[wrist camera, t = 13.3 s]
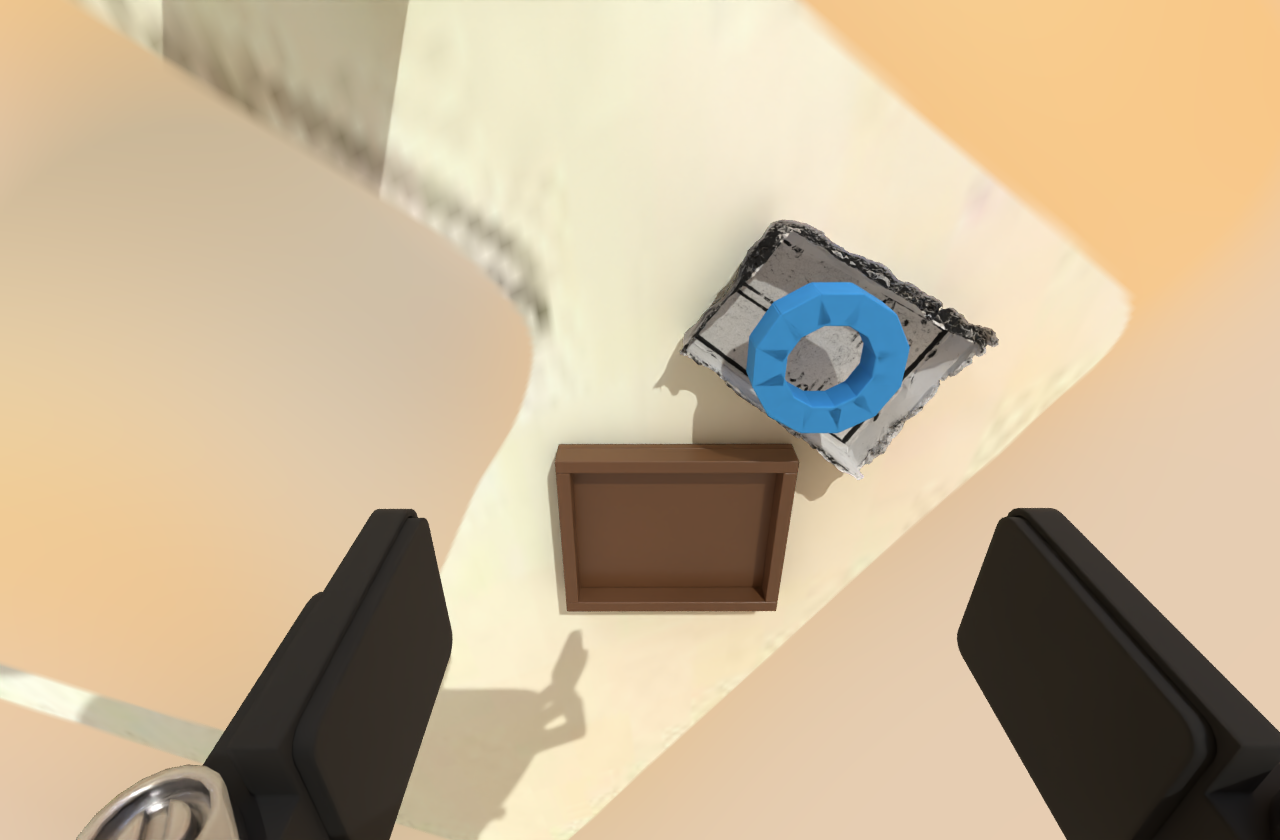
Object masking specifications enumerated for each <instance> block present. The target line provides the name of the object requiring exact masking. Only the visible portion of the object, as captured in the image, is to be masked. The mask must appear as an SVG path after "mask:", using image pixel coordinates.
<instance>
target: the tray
mask: <svg viewBox="0 0 1280 840" xmlns="http://www.w3.org/2000/svg"><path fill="white" fill-rule="evenodd" d="M798 466H799V460H798V458H797V456H796V453H795V451H794V449H793V446H792V444H559V446H558V451H557V455H556V460H555V469H556V481H557V493H558V505H559V518H560V530H561V542H562V555H563V567H564V579H565V591H566V604H567V611H776V608H777V601H778V594H779V588H780V582H781V575H782V569H783V562H784V556H785V549H786V543H787V536H788V530H789V523H790V517H791V511H792V504H793V498H794V491H795V485H796V478H797V472H798Z"/></svg>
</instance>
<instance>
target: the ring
mask: <svg viewBox="0 0 1280 840" xmlns="http://www.w3.org/2000/svg"><path fill="white" fill-rule="evenodd" d="M824 326H849V327H851V328H853V329H854V330H856V331H858V332H859V334H860V336H861V339H862V341H863V349H862V354H861V359H860V363H859V364H858V366H857V367H856V368H855V369H854V371H853V372H852V373H851V374H850V375H849V377H848V378H847V379H846V380H845V381H844V382H842V383H840V384H838V385H835V386H833V387H831V388H829V389H827V390H825V391H803V390H801V389H799V388H798V387H796V386H794V385H792V384H790V383H789V382H787V381H786V380H785V374H786V366H787V358H788V355H789V354H790V353H791V351H792V350H793V349H794V347H795V346H796V345H797V343H798V342H799V341H800V339H801V338H802V337H804V336H806V335H808V334H810V333H812V332H814V331H816V330H818V329H820V328H822V327H824ZM909 349H910V347H909V344H908V341H907V339H906V336H905V334H904V331H903V328H902V326H901V323H900V320H899V318H898V315H897V314H896V313H895V312H894V311H893V310H892V309H890V308H889V307H888V306H887V305H886V304H885V303H884V302H882V301H881V300H879V299H878V298H876V297H874V296H873V295H871V294H870V293H868V292H867V291H865V290H863V289H862V288H860V287H859V286H857V285H855V284H854V283H851V282H811V283H808V284H806V285H805V286H803V287H801V288H799V289H797V290H795V291H793V292H791V293H789V294H788V295H786V296H784V297H782V298H780V299H778V300H776V301H774V302H773V303H772V304H771V306H770V307H769V309H768V310H767V312H766V313H765V314H764V316H763V317H762V319H761V320H760V321H759V323H758V324H757V326H756V327H755V329H754V330H753V331H752V333H751V334H750V336H749V345H748V356H747V366H746V372H747V375H748V377H749V380H750V383H751V385H752V388H753V389H754V391H755V393H756V395H757V397H758V399H759V401H760V402H761V404H762V406H763V408H764V410H765V412H766V413H767V415H768V416H769V417H770V418H772V419H774V420H776V421H778V422H780V423H781V424H783V425H785V426H787V427H789V428H791V429H793V430H795V431H796V432H798V433H840V432H842V431H844V430H846V429H849V428H851V427H853V426H855V425H857V424H860V423H862V422H864V421H866V420H868V419H870V418H873V417H874V416H876V415H877V414H878V412H879V411H880V410H881V409H882V408H883V407H884V406H885V404H886V403H887V402H888V401H889V400H890V399H891V398H892V396H893V395H894V394H895V393H896V392H897V391H898V390H899V388H900V387H901V385H902V380H903V376H904V372H905V367H906V363H907V359H908V355H909Z"/></svg>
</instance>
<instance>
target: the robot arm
mask: <svg viewBox="0 0 1280 840" xmlns="http://www.w3.org/2000/svg"><path fill="white" fill-rule="evenodd" d="M957 642H958V646H959V650H960V652H961V655H962V657H963V659H964V660H965V662H966V664H967V666H968V667H969V669H970V671H971V673H972V674H973V676H974V678H975V679H976V681H977V683H978V685H979V686H980V688H981V690H982V692H983V694H984V695H985V697H986V699H987V700H988V702H989V704H990V706H991V708H992V709H993V711H994V713H995V715H996V716H997V718H998V720H999V721H1000V723H1001V725H1002V727H1003V729H1004V730H1005V732H1006V734H1007V736H1008V737H1009V739H1010V741H1011V743H1012V745H1013V746H1014V748H1015V750H1016V752H1017V753H1018V755H1019V757H1020V759H1021V760H1022V762H1023V764H1024V766H1025V767H1026V769H1027V771H1028V773H1029V774H1030V776H1031V778H1032V779H1033V781H1034V783H1035V785H1036V786H1037V788H1038V790H1039V792H1040V794H1041V795H1042V797H1043V799H1044V801H1045V802H1046V804H1047V806H1048V808H1049V809H1050V811H1051V813H1052V815H1053V816H1054V818H1055V820H1056V821H1057V823H1058V825H1059V827H1060V829H1061V830H1062V832H1063V834H1064V835H1065V837H1066V839H1067V840H1280V732H1279V731H1278V730H1277V729H1276V728H1275V727H1274V726H1273V725H1272V724H1271V723H1270V722H1269V721H1268V720H1267V719H1266V718H1265V717H1264V716H1263V715H1262V714H1261V713H1260V712H1259V711H1258V710H1257V709H1256V708H1255V707H1254V706H1253V705H1252V704H1251V703H1250V702H1249V701H1248V700H1247V699H1246V698H1245V697H1244V696H1243V695H1242V694H1241V693H1240V692H1239V691H1238V690H1237V689H1236V688H1235V687H1234V686H1233V685H1232V684H1231V683H1230V682H1229V681H1228V680H1227V679H1226V678H1225V677H1224V676H1223V675H1222V674H1221V673H1220V672H1219V671H1218V670H1217V669H1216V668H1215V667H1214V666H1213V665H1212V664H1211V663H1210V662H1209V661H1208V660H1207V659H1206V658H1205V657H1204V656H1203V655H1202V654H1201V653H1200V652H1199V651H1198V650H1197V649H1196V648H1195V647H1194V646H1193V645H1192V644H1191V643H1190V642H1189V641H1188V640H1187V639H1186V638H1185V637H1184V636H1183V635H1182V634H1181V633H1180V632H1179V631H1178V630H1177V629H1176V628H1175V627H1174V626H1173V625H1172V624H1171V623H1170V622H1169V621H1168V620H1167V619H1166V618H1165V617H1164V616H1163V615H1162V614H1161V613H1160V612H1159V611H1158V610H1157V609H1156V608H1155V607H1154V606H1153V605H1152V604H1151V603H1150V602H1149V601H1148V600H1147V598H1145V597H1144V595H1143V594H1142V593H1140V591H1138V589H1137V588H1136V587H1135V586H1134V585H1133V584H1132V583H1130V581H1128V579H1126V577H1125V576H1124V575H1123V574H1122V573H1121V572H1120V571H1118V570H1117V568H1115V566H1114V565H1113V564H1112V563H1111V562H1110V561H1109V560H1107V558H1106V557H1105V556H1104V555H1103V554H1102V553H1100V551H1099V550H1098V549H1097V548H1096V547H1095V546H1094V545H1093V544H1092V543H1091V542H1090V541H1089V540H1088V539H1087V538H1086V537H1085V536H1084V535H1083V534H1082V533H1081V532H1080V531H1079V530H1078V529H1077V528H1076V527H1075V526H1074V525H1073V524H1072V523H1071V522H1070V521H1069V520H1068V519H1067V518H1066V517H1065V516H1064V515H1063V514H1062V513H1060V512H1059V511H1057V510H1056V509H1052V508H1017V509H1013V510H1012V511H1011V512H1009V514H1008V516H1007V517H1004V518H1002V519H1001V520H999V522H998V524H997V527H996V529H995V532H994V535H993V538H992V540H991V543H990V545H989V548H988V551H987V554H986V557H985V559H984V562H983V565H982V567H981V570H980V573H979V575H978V578H977V581H976V584H975V586H974V589H973V592H972V594H971V597H970V600H969V603H968V605H967V608H966V611H965V613H964V616H963V619H962V622H961V624H960V627H959V630H958V634H957ZM451 649H452V630H451V625H450V621H449V616H448V611H447V607H446V602H445V598H444V593H443V588H442V584H441V579H440V574H439V570H438V565H437V561H436V556H435V551H434V547H433V542H432V537H431V533H430V528H429V524H428V521H427V520H426V519H425V518H418V517H417V514H416V512H415V511H414V510H412V509H377V510H375V511H374V512H373V513H372V514H371V516H370V517H369V519H368V521H367V522H366V524H365V525H364V527H363V529H362V530H361V532H360V534H359V535H358V537H357V538H356V540H355V541H354V543H353V545H352V546H351V548H350V549H349V551H348V553H347V554H346V556H345V557H344V559H343V561H342V562H341V564H340V565H339V567H338V569H337V570H336V572H335V574H334V575H333V577H332V578H331V580H330V581H329V583H328V585H327V586H326V588H325V590H324V591H323V592H319V593H317V594H316V595H314V596H313V597H312V598H311V599H310V600H309V602H308V603H307V604H306V605H305V607H304V608H303V610H302V612H301V613H300V615H299V616H298V618H297V619H296V621H295V622H294V624H293V626H292V627H291V629H290V630H289V632H288V633H287V635H286V637H285V638H284V640H283V641H282V643H281V644H280V646H279V647H278V649H277V650H276V652H275V654H274V655H273V657H272V658H271V660H270V661H269V663H268V664H267V666H266V668H265V669H264V671H263V672H262V674H261V676H260V677H259V678H258V680H257V682H256V683H255V685H254V686H253V688H252V689H251V691H250V693H249V694H248V696H247V697H246V699H245V700H244V702H243V703H242V705H241V706H240V708H239V710H238V711H237V713H236V715H235V716H234V717H233V719H232V721H231V722H230V724H229V725H228V727H227V728H226V730H225V731H224V733H223V735H222V736H221V738H220V739H219V741H218V742H217V744H216V745H215V747H214V749H213V750H212V752H211V753H210V755H209V756H208V758H207V759H206V761H205V763H204V764H203V766H198V765H184V766H180V767H174V768H169V769H165V770H163V771H161V772H158V773H156V774H154V775H151V776H149V777H146V778H144V779H142V780H141V781H139V782H137V783H136V784H134V785H133V786H131V787H130V788H128V789H127V790H125V791H123V792H122V793H120V794H119V795H118V796H116V797H115V798H114V799H113V800H112V801H111V802H109V803H108V804H107V805H106V806H105V807H104V808H103V809H101V810H100V811H99V812H98V813H97V814H96V815H95V816H94V817H93V818H92V820H91V821H90V822H89V823H88V825H87V826H86V827H85V828H84V830H83V831H82V832H81V833H80V834H79V835H78V837H77V839H76V840H389V839H390V836H391V833H392V830H393V827H394V824H395V821H396V818H397V815H398V812H399V809H400V806H401V803H402V800H403V797H404V794H405V791H406V788H407V785H408V782H409V779H410V776H411V773H412V770H413V767H414V763H415V760H416V757H417V754H418V751H419V748H420V745H421V742H422V739H423V736H424V733H425V730H426V727H427V724H428V721H429V718H430V715H431V712H432V709H433V706H434V703H435V700H436V697H437V694H438V691H439V688H440V685H441V682H442V679H443V676H444V673H445V670H446V667H447V664H448V661H449V658H450V654H451Z"/></svg>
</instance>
